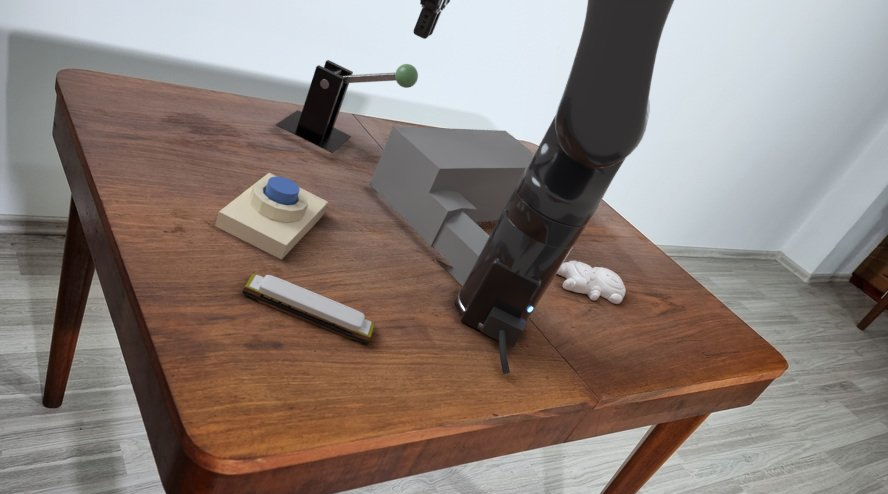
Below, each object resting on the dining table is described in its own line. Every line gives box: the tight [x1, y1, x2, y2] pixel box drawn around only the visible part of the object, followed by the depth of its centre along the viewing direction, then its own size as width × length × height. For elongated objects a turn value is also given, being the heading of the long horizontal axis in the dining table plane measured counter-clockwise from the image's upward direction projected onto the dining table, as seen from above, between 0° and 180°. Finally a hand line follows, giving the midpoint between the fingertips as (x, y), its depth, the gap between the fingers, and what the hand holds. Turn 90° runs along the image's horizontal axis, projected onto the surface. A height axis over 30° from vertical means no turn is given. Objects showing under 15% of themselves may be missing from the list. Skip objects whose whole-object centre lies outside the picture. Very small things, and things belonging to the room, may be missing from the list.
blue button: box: [265, 175, 300, 205], centre depth 88 cm, size 4×4×2 cm
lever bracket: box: [275, 59, 354, 154], centre depth 111 cm, size 10×9×12 cm
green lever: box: [332, 63, 419, 89], centre depth 107 cm, size 15×3×3 cm, turn 73°
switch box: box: [214, 172, 329, 260], centre depth 89 cm, size 14×9×4 cm, turn 162°
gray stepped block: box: [369, 125, 535, 288], centre depth 105 cm, size 25×23×11 cm
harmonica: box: [241, 272, 376, 345], centre depth 77 cm, size 15×3×2 cm, turn 80°
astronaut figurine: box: [556, 260, 627, 305], centre depth 107 cm, size 9×12×3 cm
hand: (422, 34), depth 102 cm, fingers closed
